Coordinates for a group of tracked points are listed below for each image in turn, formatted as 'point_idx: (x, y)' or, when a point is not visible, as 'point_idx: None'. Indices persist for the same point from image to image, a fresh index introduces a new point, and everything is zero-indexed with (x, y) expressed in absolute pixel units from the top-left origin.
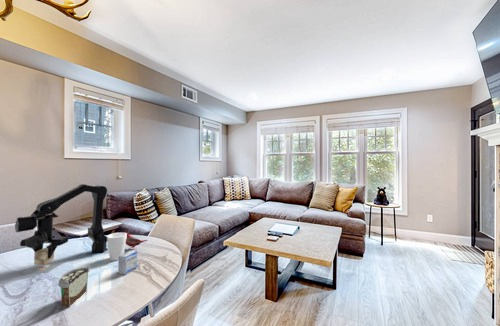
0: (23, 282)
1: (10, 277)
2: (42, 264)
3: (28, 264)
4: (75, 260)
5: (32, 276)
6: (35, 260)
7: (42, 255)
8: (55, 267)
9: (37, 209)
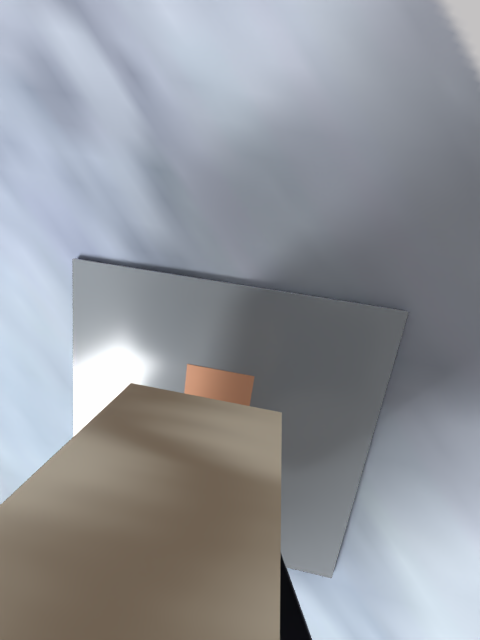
0: (180, 3)
1: (473, 215)
2: (285, 514)
3: (464, 567)
4: None
5: (188, 194)
6: (255, 454)
7: (47, 514)
8: (80, 393)
9: None
